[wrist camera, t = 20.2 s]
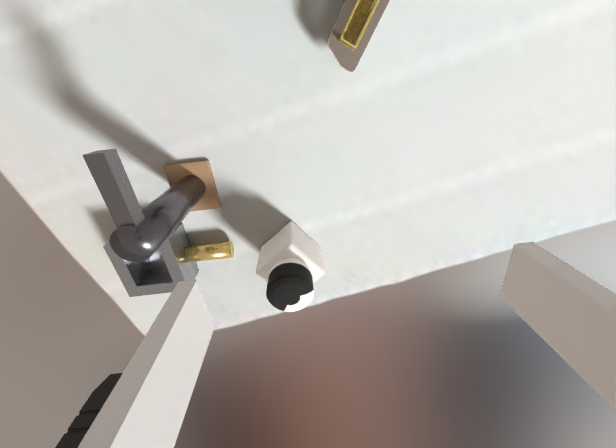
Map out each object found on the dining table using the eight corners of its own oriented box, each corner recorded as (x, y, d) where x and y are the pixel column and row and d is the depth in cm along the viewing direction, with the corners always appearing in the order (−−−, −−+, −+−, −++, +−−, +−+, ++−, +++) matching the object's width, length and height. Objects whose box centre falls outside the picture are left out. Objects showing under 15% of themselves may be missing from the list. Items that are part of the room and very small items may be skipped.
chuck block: (124, 229, 41) (103, 246, 36) (227, 217, 41) (219, 233, 36) (146, 276, 45) (129, 296, 40) (240, 265, 45) (234, 285, 40)
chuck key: (208, 197, 39) (159, 260, 24) (184, 200, 39) (120, 264, 24) (188, 126, 34) (113, 152, 20) (160, 130, 34) (65, 157, 20)
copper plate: (165, 164, 37) (163, 165, 36) (208, 159, 37) (207, 160, 36) (181, 210, 40) (179, 212, 39) (221, 206, 40) (220, 207, 39)
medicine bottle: (260, 246, 43) (249, 297, 33) (291, 219, 42) (290, 263, 31) (290, 272, 46) (289, 327, 35) (321, 247, 44) (330, 297, 33)
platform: (273, 76, 33) (269, 72, 27) (346, -110, 26) (361, -167, 20) (355, 121, 36) (367, 127, 30) (440, -35, 29) (477, -67, 23)
